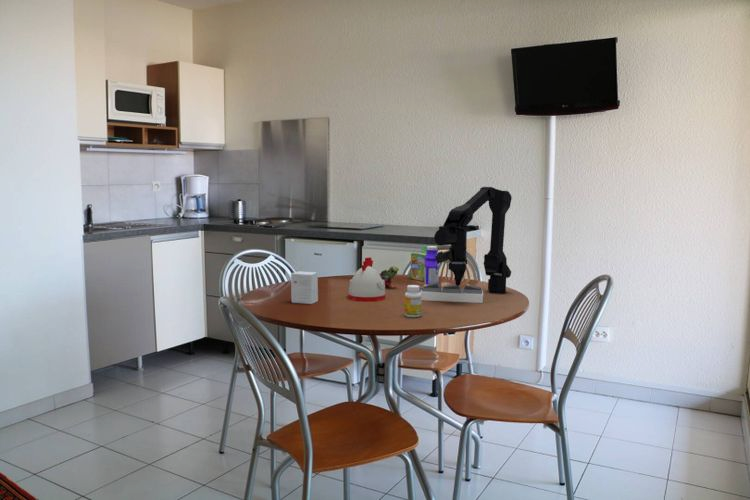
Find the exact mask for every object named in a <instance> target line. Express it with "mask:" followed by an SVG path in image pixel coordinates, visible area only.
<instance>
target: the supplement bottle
mask: <svg viewBox="0 0 750 500" xmlns="http://www.w3.org/2000/svg"><path fill="white" fill-rule="evenodd" d="M420 287H421V286H420V285H417V284H408V285H407V286H406V290H407V291H406V292H405V293H404V316H405V317H407V318H419V317H421V316H422V300H421V298H422V296H421V293H420V291H421V289H420Z"/></svg>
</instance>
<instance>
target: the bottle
mask: <svg viewBox="0 0 750 500" xmlns="http://www.w3.org/2000/svg"><path fill="white" fill-rule="evenodd" d="M426 246H427V248H426V252H427V253H426V256H425V259H426V260H425V266H424V267H425V274H424V281H423V283H424V284H423V285H427V284H433V283H438V282H439V275H438V270H440V263H439V264H437V261H436V258H435V255H436V254H438V245H437V246H436V245H426Z"/></svg>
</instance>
